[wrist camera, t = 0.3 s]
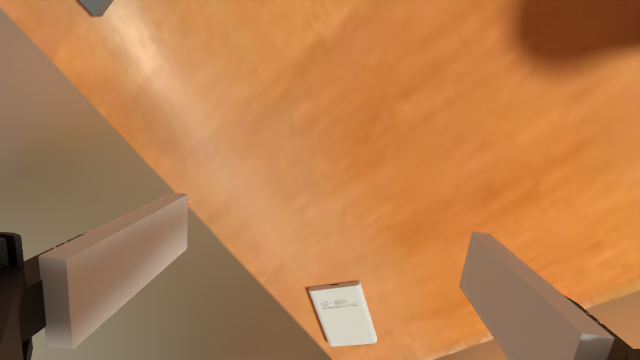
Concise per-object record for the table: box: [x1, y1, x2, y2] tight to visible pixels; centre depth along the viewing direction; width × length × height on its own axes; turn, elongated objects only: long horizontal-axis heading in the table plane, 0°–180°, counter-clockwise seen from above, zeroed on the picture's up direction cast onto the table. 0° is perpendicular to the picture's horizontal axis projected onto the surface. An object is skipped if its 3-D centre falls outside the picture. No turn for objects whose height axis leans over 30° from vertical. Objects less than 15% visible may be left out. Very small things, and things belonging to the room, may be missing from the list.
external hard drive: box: [309, 281, 377, 347], centre depth 51 cm, size 2×8×12 cm
